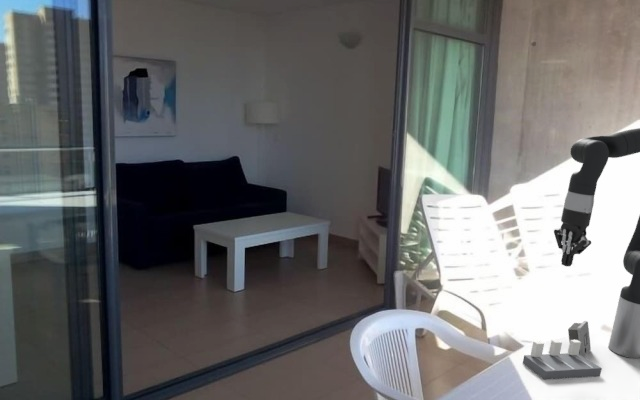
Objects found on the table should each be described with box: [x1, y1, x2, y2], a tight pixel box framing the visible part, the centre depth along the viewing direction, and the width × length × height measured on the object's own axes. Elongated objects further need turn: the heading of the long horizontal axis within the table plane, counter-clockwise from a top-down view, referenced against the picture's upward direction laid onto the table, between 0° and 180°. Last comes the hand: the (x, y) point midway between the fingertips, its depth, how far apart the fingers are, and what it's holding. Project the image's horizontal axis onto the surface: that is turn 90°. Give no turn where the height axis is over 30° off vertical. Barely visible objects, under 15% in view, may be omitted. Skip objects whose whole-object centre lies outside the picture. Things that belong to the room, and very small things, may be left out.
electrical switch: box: [567, 320, 591, 358], centre depth 167 cm, size 9×5×9 cm, turn 141°
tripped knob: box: [548, 339, 563, 356], centre depth 156 cm, size 2×2×4 cm
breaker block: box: [522, 352, 603, 381], centre depth 153 cm, size 19×9×3 cm, turn 108°
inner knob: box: [567, 339, 581, 355], centre depth 158 cm, size 2×2×4 cm
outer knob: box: [530, 340, 545, 357], centre depth 154 cm, size 2×2×4 cm
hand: (566, 265), depth 161 cm, fingers closed
